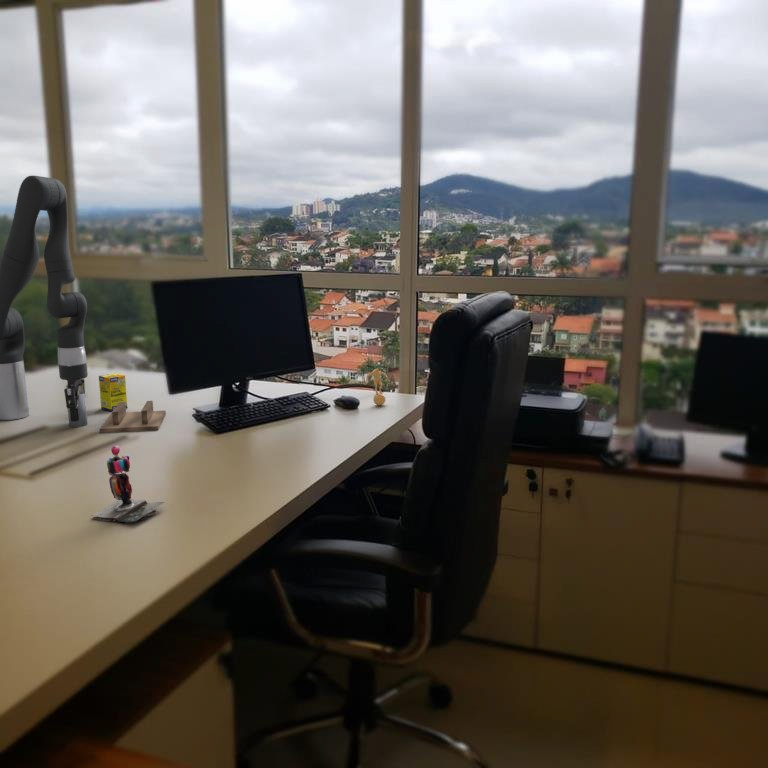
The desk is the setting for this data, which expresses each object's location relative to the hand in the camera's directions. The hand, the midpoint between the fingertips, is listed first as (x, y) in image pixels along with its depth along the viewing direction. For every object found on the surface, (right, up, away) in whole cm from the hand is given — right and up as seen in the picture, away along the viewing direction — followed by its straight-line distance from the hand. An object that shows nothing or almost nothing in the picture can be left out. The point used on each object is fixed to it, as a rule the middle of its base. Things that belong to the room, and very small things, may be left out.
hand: (77, 417), depth 216 cm
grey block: (0, -2, 0) cm, 2 cm away
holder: (+16, -2, +2) cm, 16 cm away
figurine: (+88, +3, +24) cm, 91 cm away
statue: (+38, -17, -66) cm, 78 cm away
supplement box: (+4, +2, +19) cm, 19 cm away
